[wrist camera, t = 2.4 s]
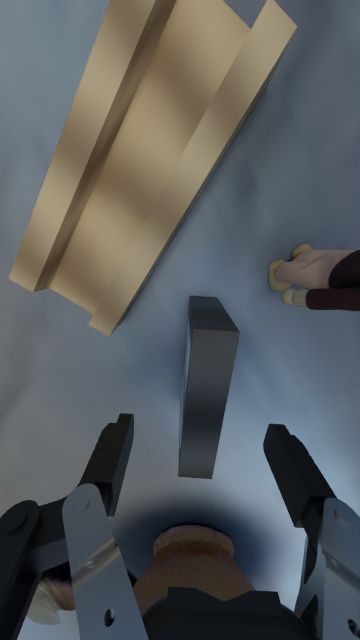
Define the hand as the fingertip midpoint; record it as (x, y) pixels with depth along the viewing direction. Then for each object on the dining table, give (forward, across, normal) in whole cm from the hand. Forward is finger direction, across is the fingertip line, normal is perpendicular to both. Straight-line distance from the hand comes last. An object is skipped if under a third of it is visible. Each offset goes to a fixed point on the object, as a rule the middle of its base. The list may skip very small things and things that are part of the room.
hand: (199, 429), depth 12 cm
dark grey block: (+9, 0, 0) cm, 9 cm away
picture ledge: (+9, +6, -14) cm, 17 cm away
